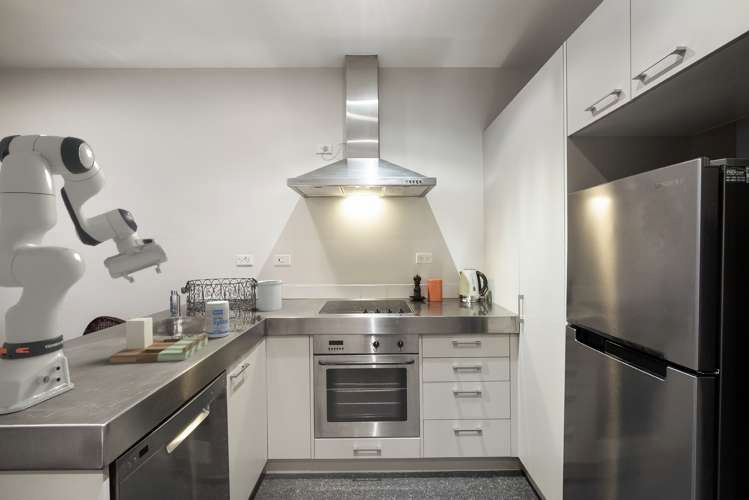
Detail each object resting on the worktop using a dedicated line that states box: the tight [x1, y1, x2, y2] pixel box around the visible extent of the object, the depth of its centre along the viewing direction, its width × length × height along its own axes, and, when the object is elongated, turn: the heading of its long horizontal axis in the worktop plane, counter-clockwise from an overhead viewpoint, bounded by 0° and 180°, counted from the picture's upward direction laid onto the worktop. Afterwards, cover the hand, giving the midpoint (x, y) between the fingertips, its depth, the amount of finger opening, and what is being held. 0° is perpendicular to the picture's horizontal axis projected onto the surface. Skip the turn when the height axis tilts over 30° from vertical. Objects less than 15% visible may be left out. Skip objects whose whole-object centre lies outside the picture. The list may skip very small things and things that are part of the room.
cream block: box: [125, 317, 154, 349], centre depth 135 cm, size 6×6×10 cm
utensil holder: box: [256, 279, 283, 312], centre depth 229 cm, size 15×15×18 cm
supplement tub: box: [204, 300, 230, 339], centre depth 161 cm, size 10×10×15 cm
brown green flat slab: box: [109, 332, 209, 364], centre depth 136 cm, size 22×24×4 cm
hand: (146, 277), depth 142 cm, fingers open, 8 cm apart
